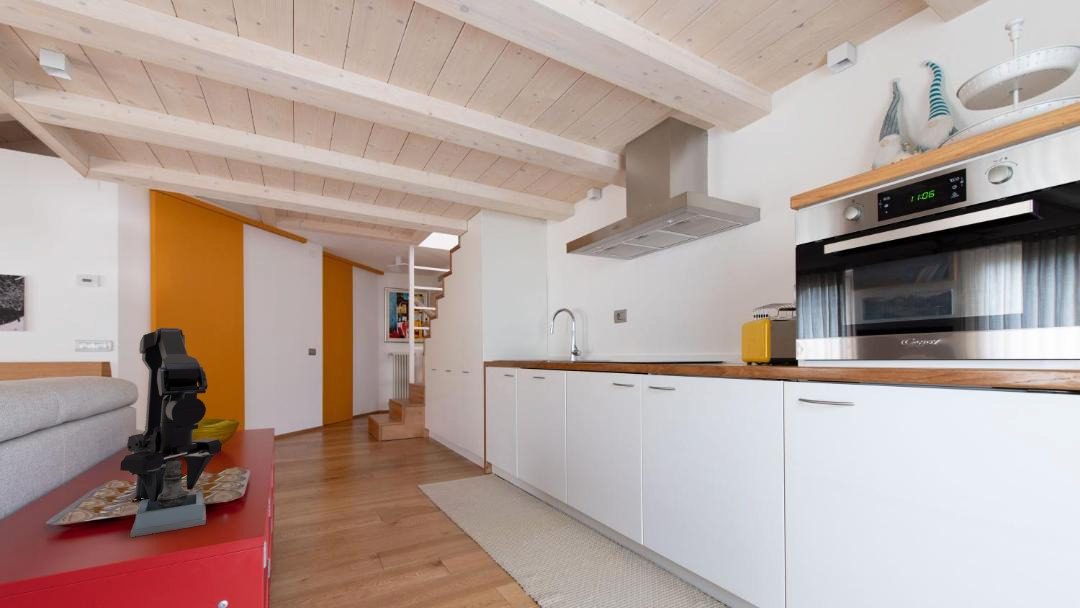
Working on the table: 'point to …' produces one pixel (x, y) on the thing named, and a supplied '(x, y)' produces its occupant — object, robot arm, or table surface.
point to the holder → (169, 516)
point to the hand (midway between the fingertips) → (172, 495)
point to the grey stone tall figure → (172, 486)
